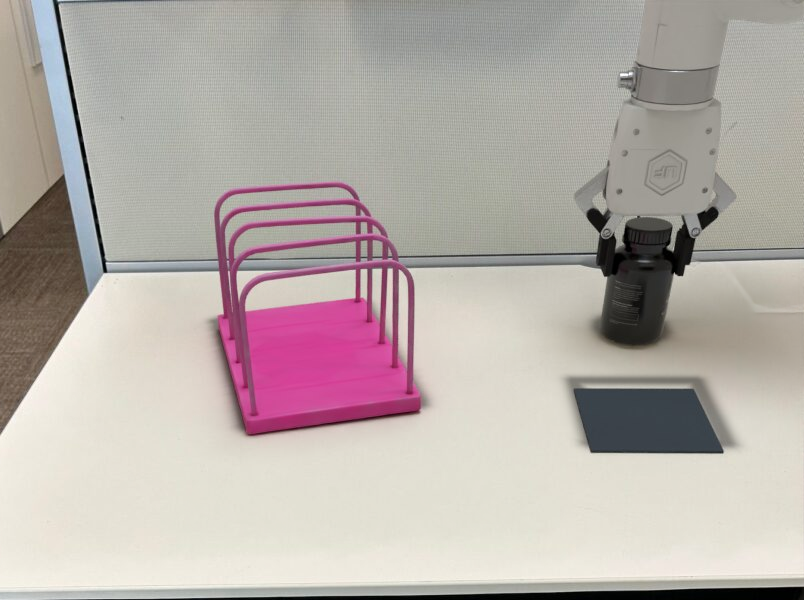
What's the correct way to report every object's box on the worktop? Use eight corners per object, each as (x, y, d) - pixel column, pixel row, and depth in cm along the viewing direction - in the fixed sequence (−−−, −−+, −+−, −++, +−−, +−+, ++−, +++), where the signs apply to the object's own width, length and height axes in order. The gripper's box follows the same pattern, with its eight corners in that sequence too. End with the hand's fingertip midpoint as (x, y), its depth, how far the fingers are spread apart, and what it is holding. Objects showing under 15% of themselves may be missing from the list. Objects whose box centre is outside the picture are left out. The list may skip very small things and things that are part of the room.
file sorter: (364, 311, 110) (361, 172, 100) (421, 412, 91) (426, 253, 81) (218, 328, 107) (200, 187, 97) (247, 436, 89) (229, 275, 79)
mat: (693, 390, 94) (693, 388, 94) (723, 452, 85) (723, 451, 84) (573, 390, 94) (573, 388, 94) (590, 452, 85) (591, 450, 85)
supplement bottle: (674, 340, 102) (697, 229, 94) (621, 352, 100) (640, 239, 92) (638, 316, 107) (657, 209, 99) (586, 327, 105) (602, 218, 97)
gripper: (585, 96, 85) (562, 286, 96) (780, 92, 84) (733, 285, 95) (575, 77, 90) (554, 259, 102) (757, 74, 89) (715, 258, 101)
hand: (641, 270), depth 99 cm, fingers closed on supplement bottle, 6 cm apart
